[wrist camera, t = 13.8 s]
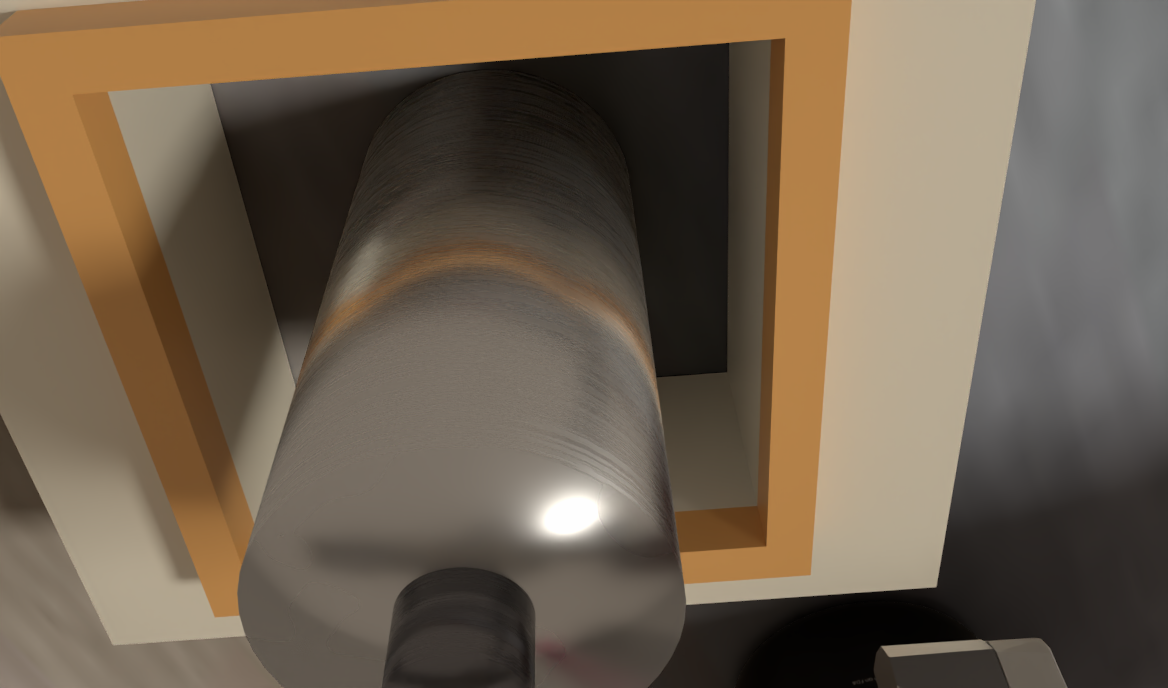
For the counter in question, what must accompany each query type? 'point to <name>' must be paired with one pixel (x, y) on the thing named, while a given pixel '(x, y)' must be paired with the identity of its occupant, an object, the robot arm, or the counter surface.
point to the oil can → (475, 419)
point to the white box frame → (688, 403)
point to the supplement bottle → (844, 645)
